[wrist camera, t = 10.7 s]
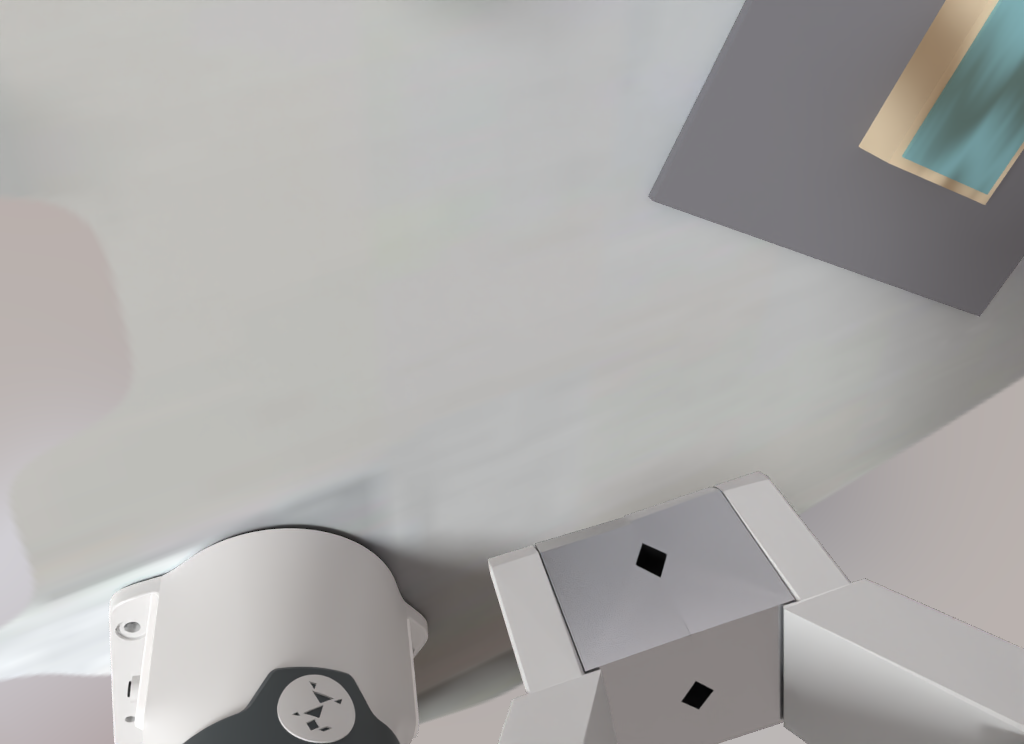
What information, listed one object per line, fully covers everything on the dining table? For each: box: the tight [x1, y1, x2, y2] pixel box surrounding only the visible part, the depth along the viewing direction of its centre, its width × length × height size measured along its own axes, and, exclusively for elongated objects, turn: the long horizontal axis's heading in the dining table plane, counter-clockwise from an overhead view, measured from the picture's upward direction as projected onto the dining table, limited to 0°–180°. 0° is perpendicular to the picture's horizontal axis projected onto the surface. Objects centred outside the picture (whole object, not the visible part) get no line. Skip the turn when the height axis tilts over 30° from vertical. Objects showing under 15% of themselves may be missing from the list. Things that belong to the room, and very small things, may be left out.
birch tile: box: [858, 0, 1024, 205], centre depth 41 cm, size 10×3×7 cm
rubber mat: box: [649, 0, 1024, 316], centre depth 42 cm, size 22×24×1 cm
